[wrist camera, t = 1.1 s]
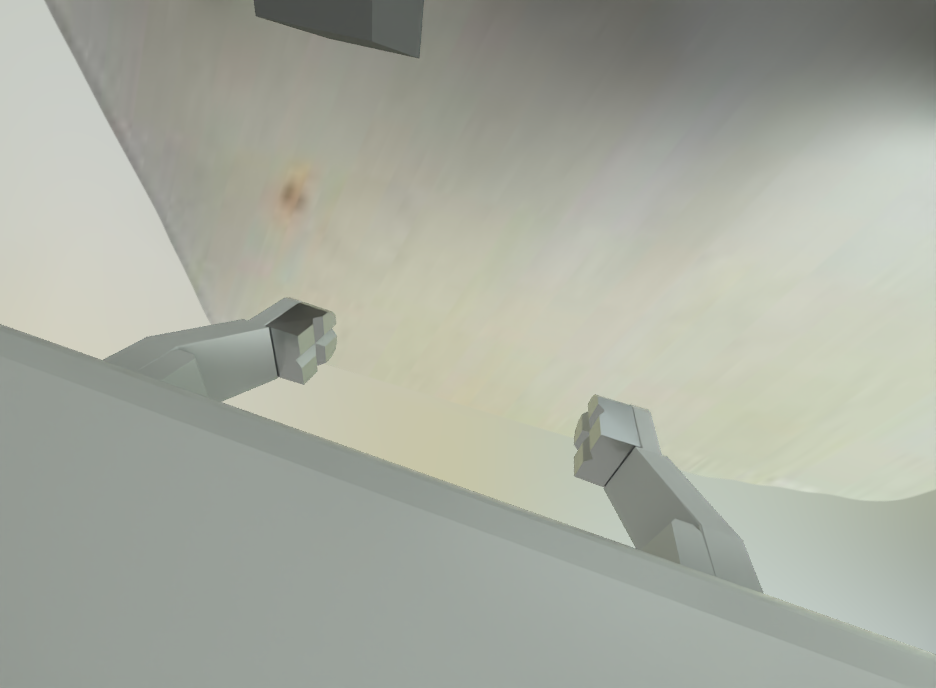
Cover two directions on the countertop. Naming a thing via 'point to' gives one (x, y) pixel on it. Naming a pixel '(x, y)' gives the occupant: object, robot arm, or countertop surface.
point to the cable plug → (353, 21)
